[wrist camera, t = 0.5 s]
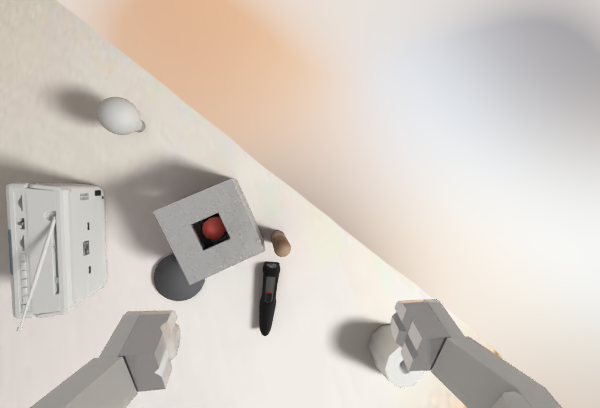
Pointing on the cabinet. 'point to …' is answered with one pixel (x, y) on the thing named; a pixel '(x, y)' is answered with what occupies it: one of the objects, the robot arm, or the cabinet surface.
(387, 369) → the toilet tissue
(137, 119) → the lightbulb
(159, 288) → the rubber coaster
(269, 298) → the electric trimmer
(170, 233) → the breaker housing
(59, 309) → the stereo radio cassette player
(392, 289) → the cabinet surface
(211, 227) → the button
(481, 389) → the robot arm
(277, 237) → the walnut dowel
